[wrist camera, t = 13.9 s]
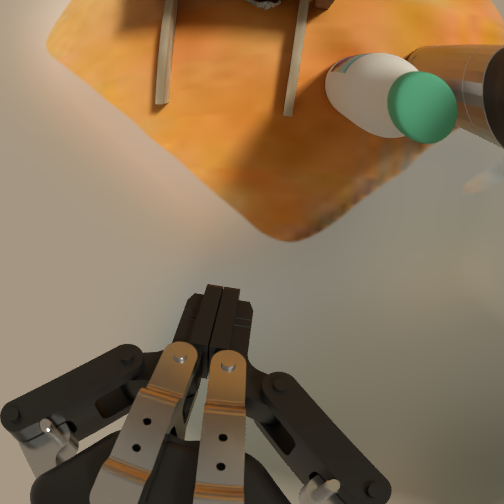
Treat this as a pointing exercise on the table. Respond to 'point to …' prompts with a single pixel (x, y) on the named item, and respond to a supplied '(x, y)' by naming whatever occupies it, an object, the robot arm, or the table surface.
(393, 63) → the milk bottle
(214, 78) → the table surface
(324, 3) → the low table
